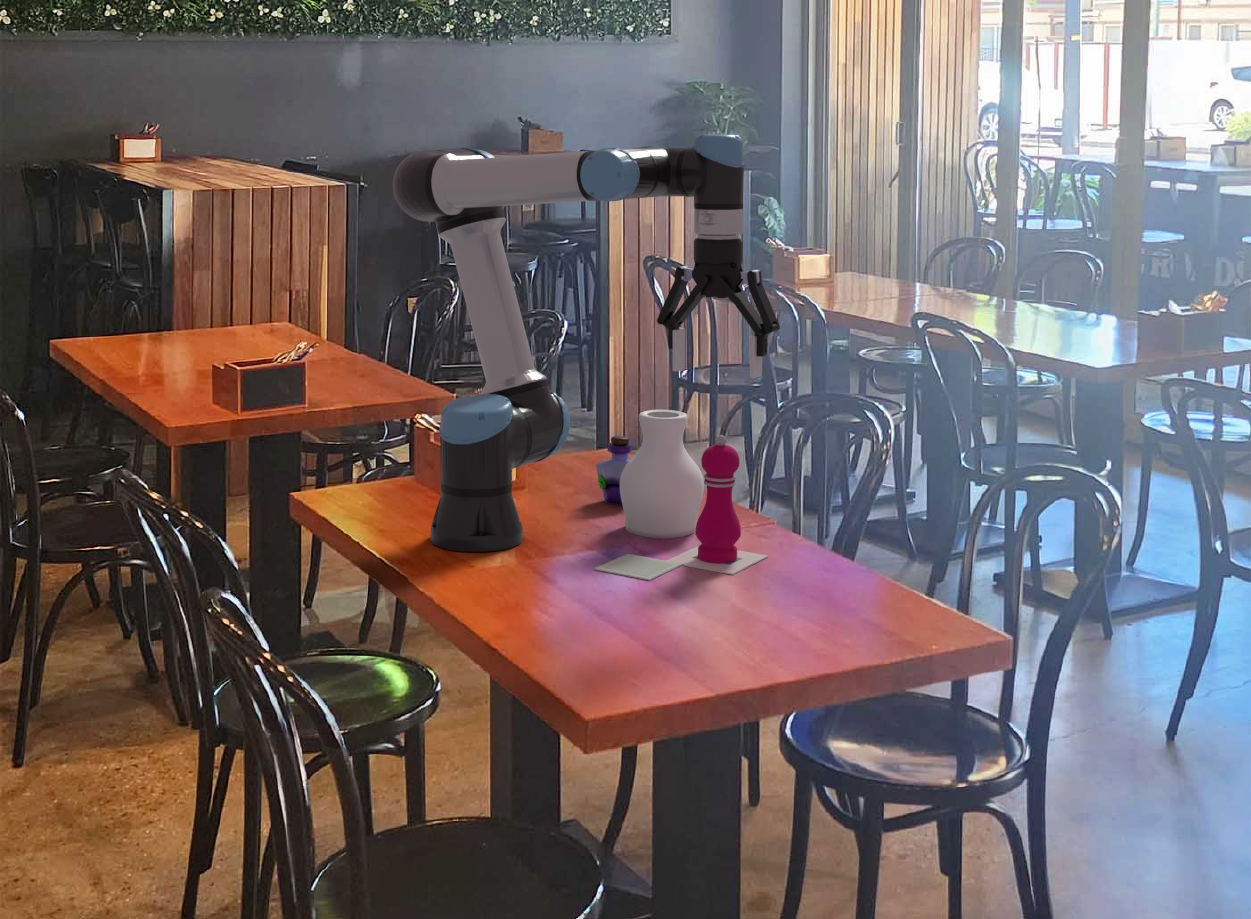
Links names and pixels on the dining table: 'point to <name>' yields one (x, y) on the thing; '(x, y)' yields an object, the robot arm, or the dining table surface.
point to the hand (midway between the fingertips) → (716, 373)
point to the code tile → (730, 568)
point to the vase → (661, 480)
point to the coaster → (638, 567)
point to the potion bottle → (613, 469)
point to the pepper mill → (719, 505)
